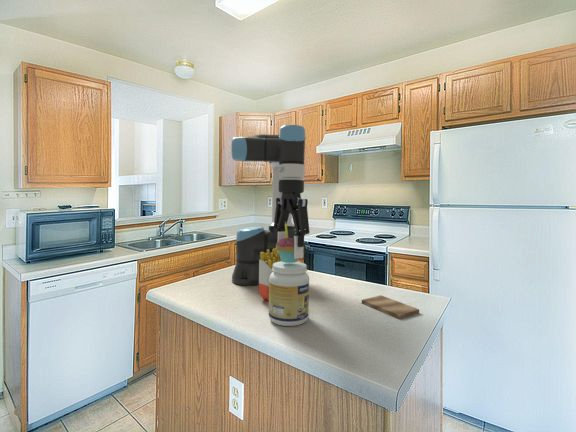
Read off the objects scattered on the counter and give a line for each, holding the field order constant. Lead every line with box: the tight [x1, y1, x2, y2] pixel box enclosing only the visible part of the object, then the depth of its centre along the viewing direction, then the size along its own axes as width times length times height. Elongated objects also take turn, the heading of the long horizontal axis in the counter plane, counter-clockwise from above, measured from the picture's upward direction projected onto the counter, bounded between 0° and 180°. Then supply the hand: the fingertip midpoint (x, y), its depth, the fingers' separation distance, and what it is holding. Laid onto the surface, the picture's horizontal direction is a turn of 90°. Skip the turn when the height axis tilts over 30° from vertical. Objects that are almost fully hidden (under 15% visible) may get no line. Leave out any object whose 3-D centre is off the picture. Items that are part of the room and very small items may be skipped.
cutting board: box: [361, 294, 420, 320], centre depth 105 cm, size 16×10×1 cm, turn 32°
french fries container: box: [258, 248, 281, 302], centre depth 111 cm, size 5×11×18 cm, turn 139°
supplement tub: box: [268, 261, 310, 327], centre depth 94 cm, size 12×12×17 cm
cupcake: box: [276, 222, 305, 263], centre depth 93 cm, size 9×8×12 cm
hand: (289, 254), depth 93 cm, fingers open, 9 cm apart
